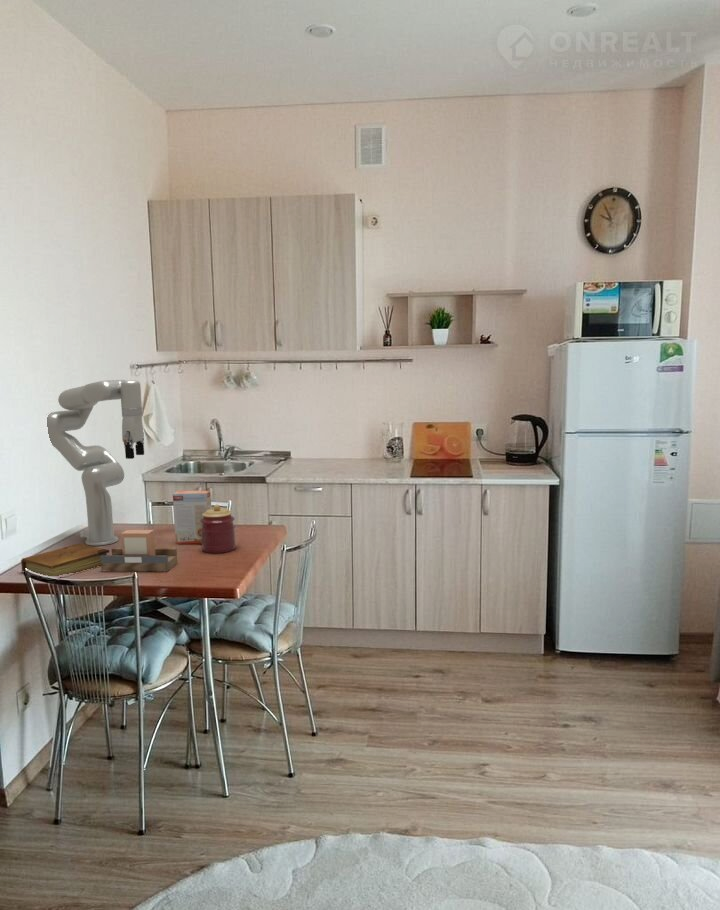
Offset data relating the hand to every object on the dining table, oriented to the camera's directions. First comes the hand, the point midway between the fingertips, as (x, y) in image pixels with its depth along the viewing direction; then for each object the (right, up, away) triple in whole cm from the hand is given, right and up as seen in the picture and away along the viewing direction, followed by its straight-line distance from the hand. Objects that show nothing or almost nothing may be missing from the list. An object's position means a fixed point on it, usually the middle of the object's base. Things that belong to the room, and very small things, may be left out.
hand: (135, 456), depth 280 cm
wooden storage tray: (+8, -40, -21) cm, 46 cm away
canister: (+33, -36, 0) cm, 49 cm away
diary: (-18, -41, -20) cm, 49 cm away
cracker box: (+21, -35, +11) cm, 42 cm away
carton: (+8, -37, -22) cm, 43 cm away
